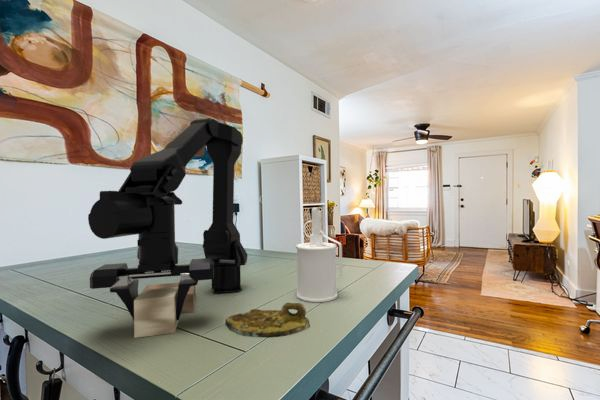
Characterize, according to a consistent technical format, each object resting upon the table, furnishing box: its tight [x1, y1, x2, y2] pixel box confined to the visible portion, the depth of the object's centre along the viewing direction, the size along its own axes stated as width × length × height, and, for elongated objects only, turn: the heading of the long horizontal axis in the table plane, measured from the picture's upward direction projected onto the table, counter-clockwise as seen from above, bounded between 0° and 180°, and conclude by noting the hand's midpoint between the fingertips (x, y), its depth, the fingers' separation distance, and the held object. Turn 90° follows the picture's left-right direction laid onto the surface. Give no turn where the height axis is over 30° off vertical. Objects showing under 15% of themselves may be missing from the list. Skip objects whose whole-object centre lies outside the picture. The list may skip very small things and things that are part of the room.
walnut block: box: [143, 281, 197, 315], centre depth 63 cm, size 10×10×4 cm
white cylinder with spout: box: [295, 207, 343, 303], centre depth 68 cm, size 10×9×20 cm
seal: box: [224, 302, 311, 338], centre depth 52 cm, size 9×5×15 cm
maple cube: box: [133, 287, 180, 339], centre depth 52 cm, size 6×6×6 cm
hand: (158, 321), depth 52 cm, fingers closed on maple cube, 6 cm apart
